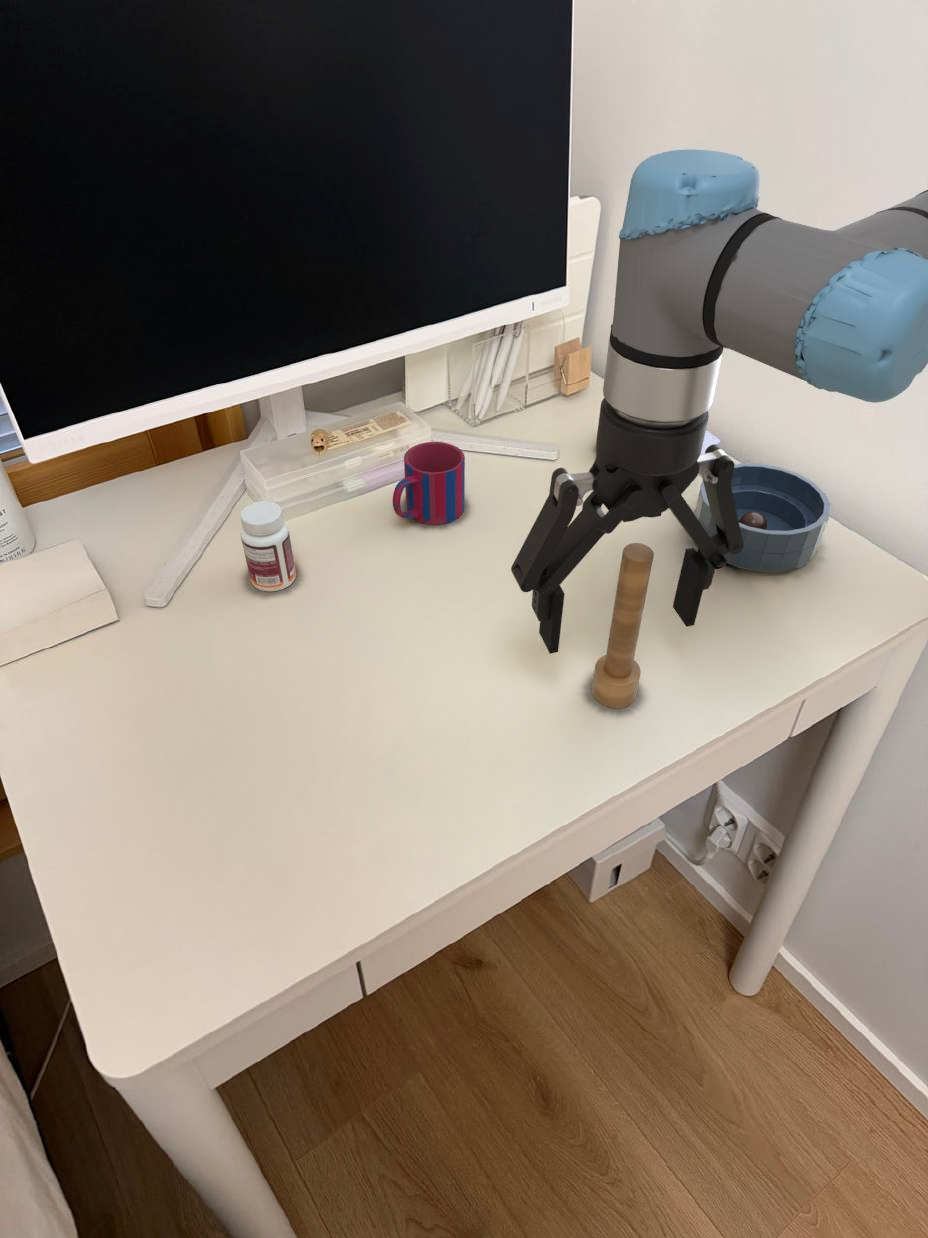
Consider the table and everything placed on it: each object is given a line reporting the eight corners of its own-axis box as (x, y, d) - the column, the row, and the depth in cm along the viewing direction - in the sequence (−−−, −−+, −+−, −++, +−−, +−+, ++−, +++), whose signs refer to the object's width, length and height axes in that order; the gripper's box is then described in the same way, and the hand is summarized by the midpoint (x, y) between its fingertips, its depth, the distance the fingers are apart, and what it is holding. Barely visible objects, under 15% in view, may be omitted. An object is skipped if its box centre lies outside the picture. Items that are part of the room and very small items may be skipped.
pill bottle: (277, 558, 92) (265, 492, 86) (305, 577, 90) (295, 511, 84) (240, 578, 89) (226, 512, 84) (269, 599, 87) (256, 532, 81)
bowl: (840, 564, 92) (856, 522, 88) (727, 586, 89) (739, 543, 85) (774, 496, 101) (786, 455, 97) (670, 513, 98) (679, 472, 95)
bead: (774, 513, 92) (768, 540, 92) (762, 516, 95) (756, 542, 95) (748, 507, 92) (742, 535, 92) (736, 510, 95) (731, 536, 95)
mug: (476, 508, 99) (477, 457, 94) (412, 545, 94) (410, 493, 89) (436, 485, 102) (435, 434, 98) (372, 519, 97) (368, 468, 93)
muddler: (636, 710, 76) (665, 569, 65) (591, 706, 76) (613, 565, 66) (635, 678, 79) (662, 538, 68) (591, 674, 79) (612, 535, 69)
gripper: (780, 358, 65) (721, 578, 80) (474, 399, 60) (471, 625, 75) (838, 405, 60) (763, 632, 74) (507, 453, 55) (496, 686, 69)
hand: (616, 629), depth 74 cm, fingers open, 12 cm apart
